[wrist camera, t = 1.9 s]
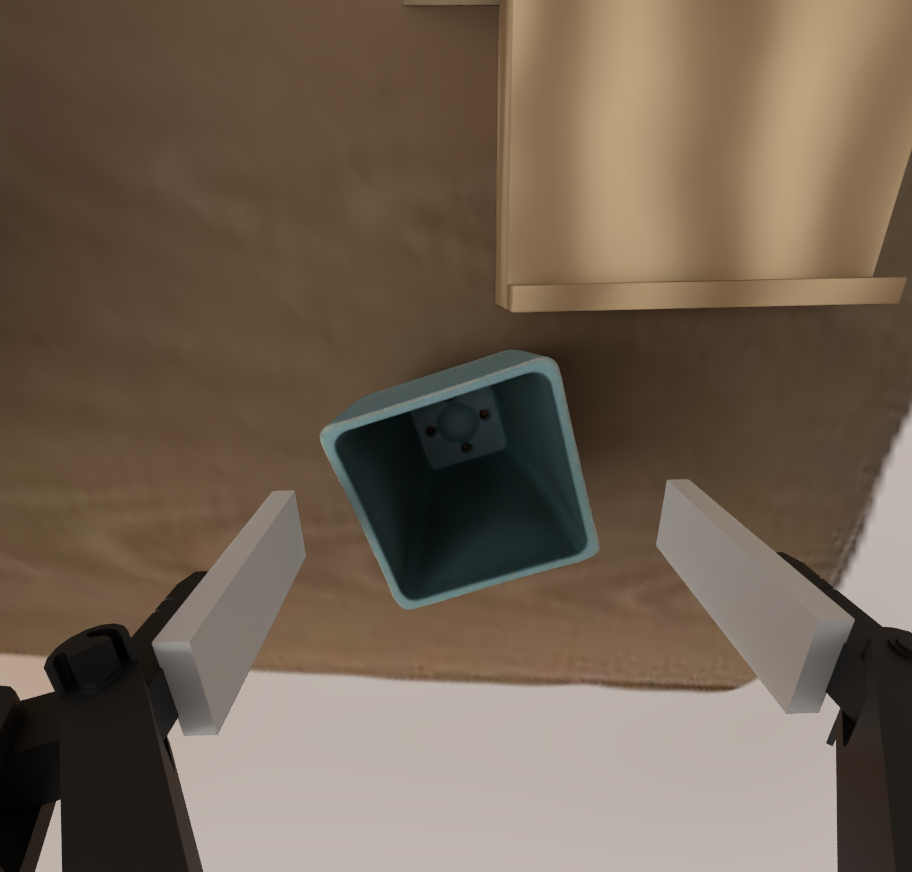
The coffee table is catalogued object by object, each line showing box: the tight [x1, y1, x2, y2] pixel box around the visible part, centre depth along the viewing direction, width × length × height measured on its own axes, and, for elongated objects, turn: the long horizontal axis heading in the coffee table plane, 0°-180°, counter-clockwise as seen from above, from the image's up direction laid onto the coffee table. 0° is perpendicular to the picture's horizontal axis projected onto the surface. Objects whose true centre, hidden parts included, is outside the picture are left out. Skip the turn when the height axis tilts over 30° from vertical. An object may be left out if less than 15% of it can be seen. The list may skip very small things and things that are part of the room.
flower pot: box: [320, 349, 599, 610], centre depth 21 cm, size 9×9×9 cm
